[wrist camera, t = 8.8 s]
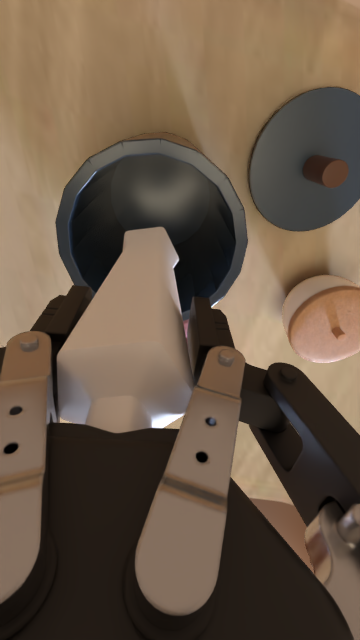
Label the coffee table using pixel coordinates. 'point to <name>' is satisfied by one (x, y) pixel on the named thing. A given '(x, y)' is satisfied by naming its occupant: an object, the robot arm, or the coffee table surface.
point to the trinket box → (323, 318)
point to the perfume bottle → (129, 344)
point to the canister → (154, 214)
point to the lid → (308, 160)
